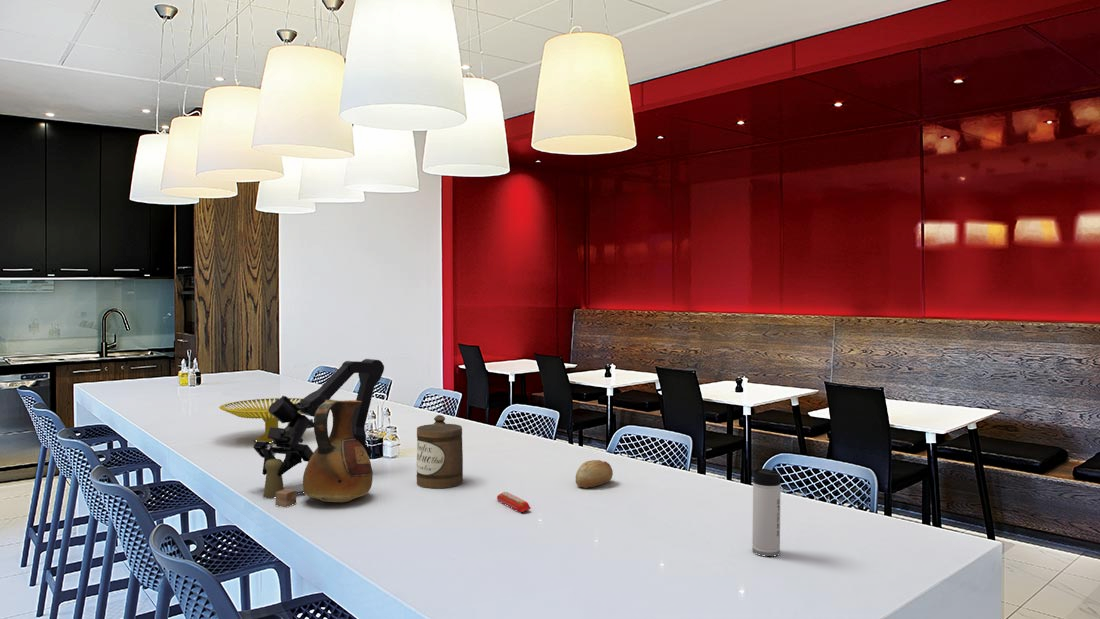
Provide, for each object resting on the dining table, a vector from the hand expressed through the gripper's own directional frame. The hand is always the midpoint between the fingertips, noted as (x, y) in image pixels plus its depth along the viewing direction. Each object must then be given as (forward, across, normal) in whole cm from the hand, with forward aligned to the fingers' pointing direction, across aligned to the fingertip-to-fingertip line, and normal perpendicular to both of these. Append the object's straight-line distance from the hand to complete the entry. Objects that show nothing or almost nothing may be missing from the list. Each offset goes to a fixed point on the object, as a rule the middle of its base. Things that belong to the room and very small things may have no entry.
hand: (270, 474), depth 219 cm
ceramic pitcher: (+2, +21, +8) cm, 22 cm away
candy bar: (-5, +72, +15) cm, 74 cm away
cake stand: (-46, -57, +56) cm, 93 cm away
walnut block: (+9, +10, +1) cm, 13 cm away
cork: (+4, 0, +6) cm, 7 cm away
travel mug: (+7, +142, +3) cm, 143 cm away
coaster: (-2, +4, +11) cm, 12 cm away
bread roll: (-27, +89, +37) cm, 100 cm away
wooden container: (-17, +40, +27) cm, 52 cm away
